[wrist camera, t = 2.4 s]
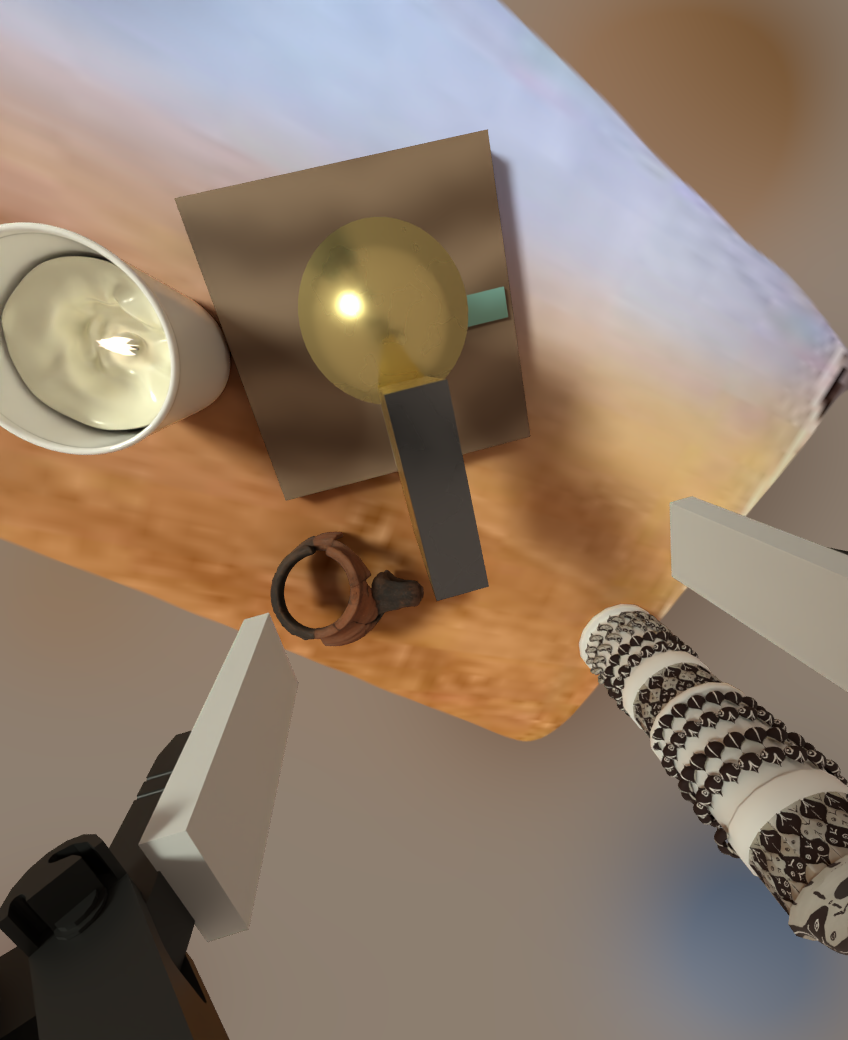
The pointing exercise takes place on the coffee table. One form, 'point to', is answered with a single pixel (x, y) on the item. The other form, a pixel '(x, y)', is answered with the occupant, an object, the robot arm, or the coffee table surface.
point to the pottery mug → (363, 600)
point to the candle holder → (97, 345)
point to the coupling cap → (401, 372)
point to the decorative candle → (734, 767)
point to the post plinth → (275, 289)
